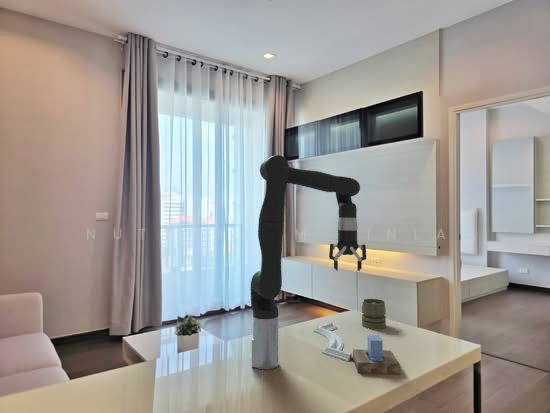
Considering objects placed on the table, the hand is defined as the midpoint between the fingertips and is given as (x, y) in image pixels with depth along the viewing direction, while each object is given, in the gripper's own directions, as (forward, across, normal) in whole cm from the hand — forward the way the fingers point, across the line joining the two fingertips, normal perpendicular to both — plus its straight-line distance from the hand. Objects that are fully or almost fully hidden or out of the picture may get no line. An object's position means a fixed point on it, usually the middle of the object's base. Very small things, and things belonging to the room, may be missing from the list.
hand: (347, 270), depth 136 cm
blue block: (+32, -8, +11) cm, 35 cm away
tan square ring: (+32, -8, +11) cm, 35 cm away
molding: (+33, +3, -13) cm, 35 cm away
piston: (+32, -16, -37) cm, 52 cm away
